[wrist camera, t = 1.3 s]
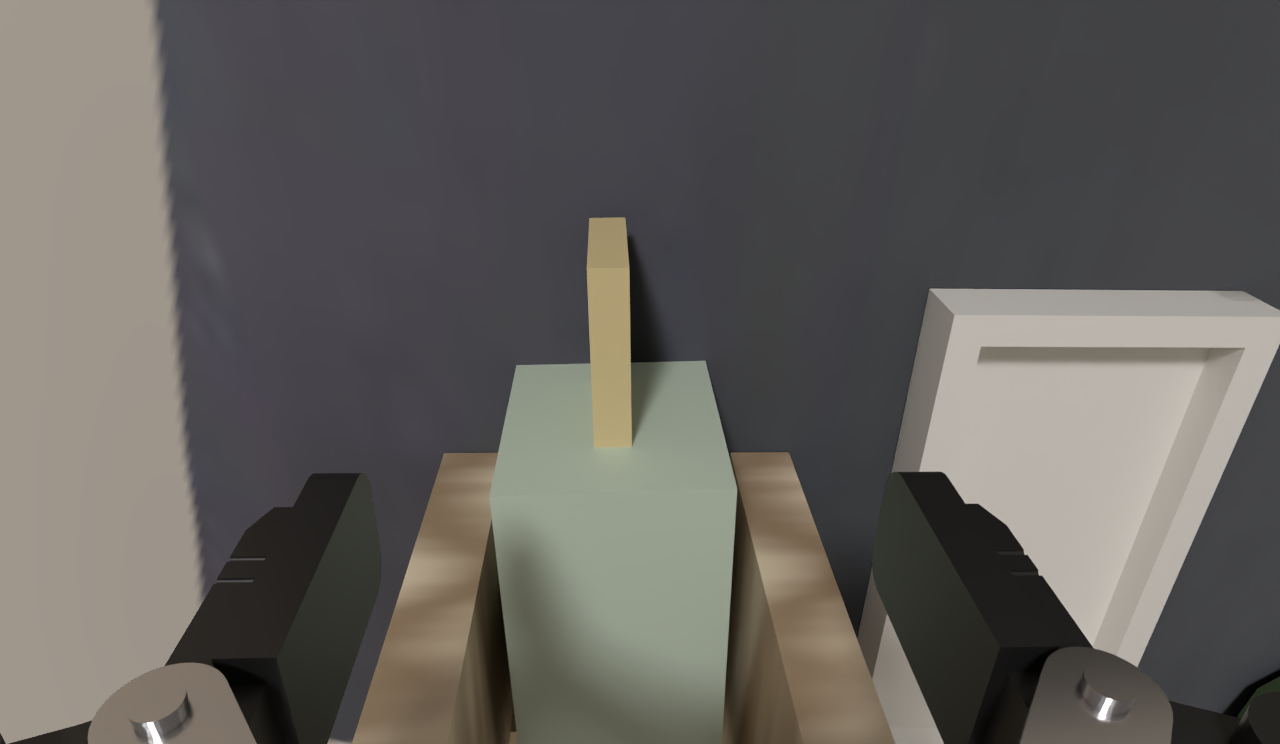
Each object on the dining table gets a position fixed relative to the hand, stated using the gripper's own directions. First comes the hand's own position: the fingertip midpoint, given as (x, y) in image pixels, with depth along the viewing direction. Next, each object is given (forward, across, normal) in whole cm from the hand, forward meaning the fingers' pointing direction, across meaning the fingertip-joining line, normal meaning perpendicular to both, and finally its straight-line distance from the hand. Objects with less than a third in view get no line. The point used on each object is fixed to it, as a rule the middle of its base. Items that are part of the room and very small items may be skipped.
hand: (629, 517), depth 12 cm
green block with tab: (+13, 0, +7) cm, 15 cm away
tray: (+12, -15, +11) cm, 22 cm away
